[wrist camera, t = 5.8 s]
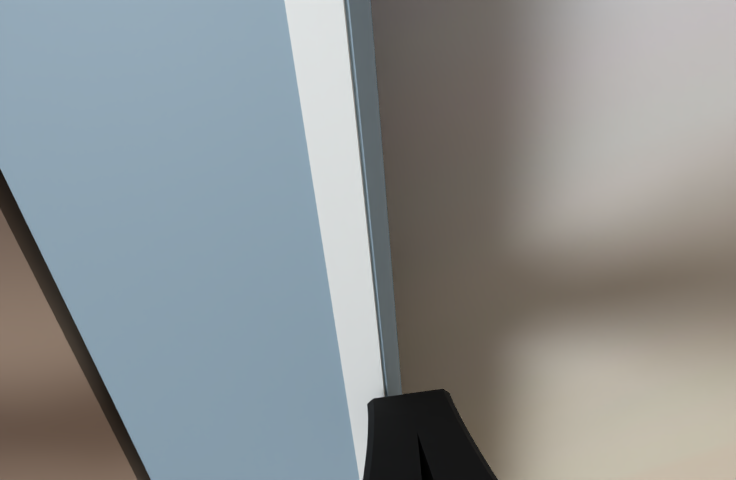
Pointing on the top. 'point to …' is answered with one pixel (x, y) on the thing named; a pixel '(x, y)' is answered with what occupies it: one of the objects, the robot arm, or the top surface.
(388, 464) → the robot arm
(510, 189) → the top surface
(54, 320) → the cart bed
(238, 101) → the tailgate
